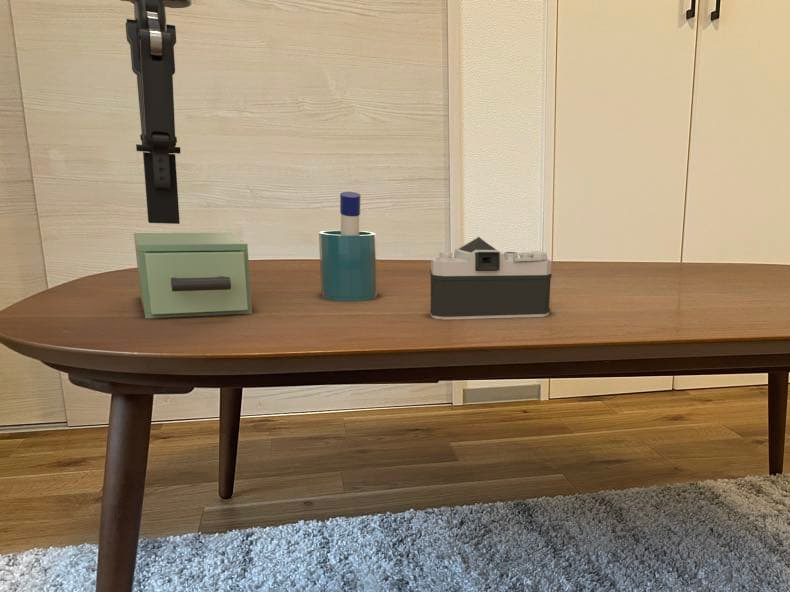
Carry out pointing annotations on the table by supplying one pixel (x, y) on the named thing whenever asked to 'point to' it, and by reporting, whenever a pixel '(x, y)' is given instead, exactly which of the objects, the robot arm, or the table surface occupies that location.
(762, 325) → the table surface
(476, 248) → the camera
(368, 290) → the pen cup
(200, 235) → the cabinet
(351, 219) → the marker
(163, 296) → the drawer
